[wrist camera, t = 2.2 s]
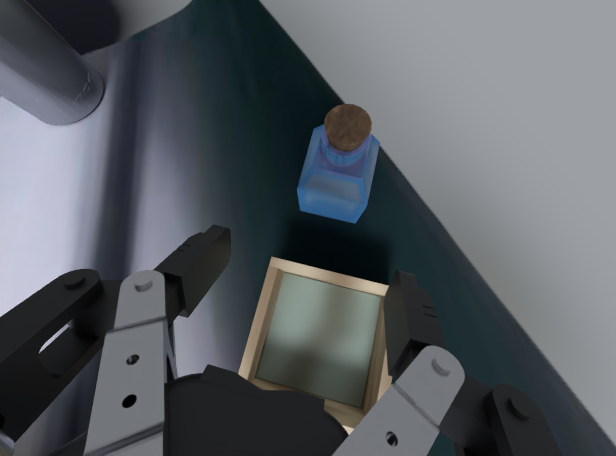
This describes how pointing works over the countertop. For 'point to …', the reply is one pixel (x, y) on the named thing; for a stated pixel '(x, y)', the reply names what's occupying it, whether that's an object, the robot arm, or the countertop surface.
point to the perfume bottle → (339, 165)
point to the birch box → (320, 339)
